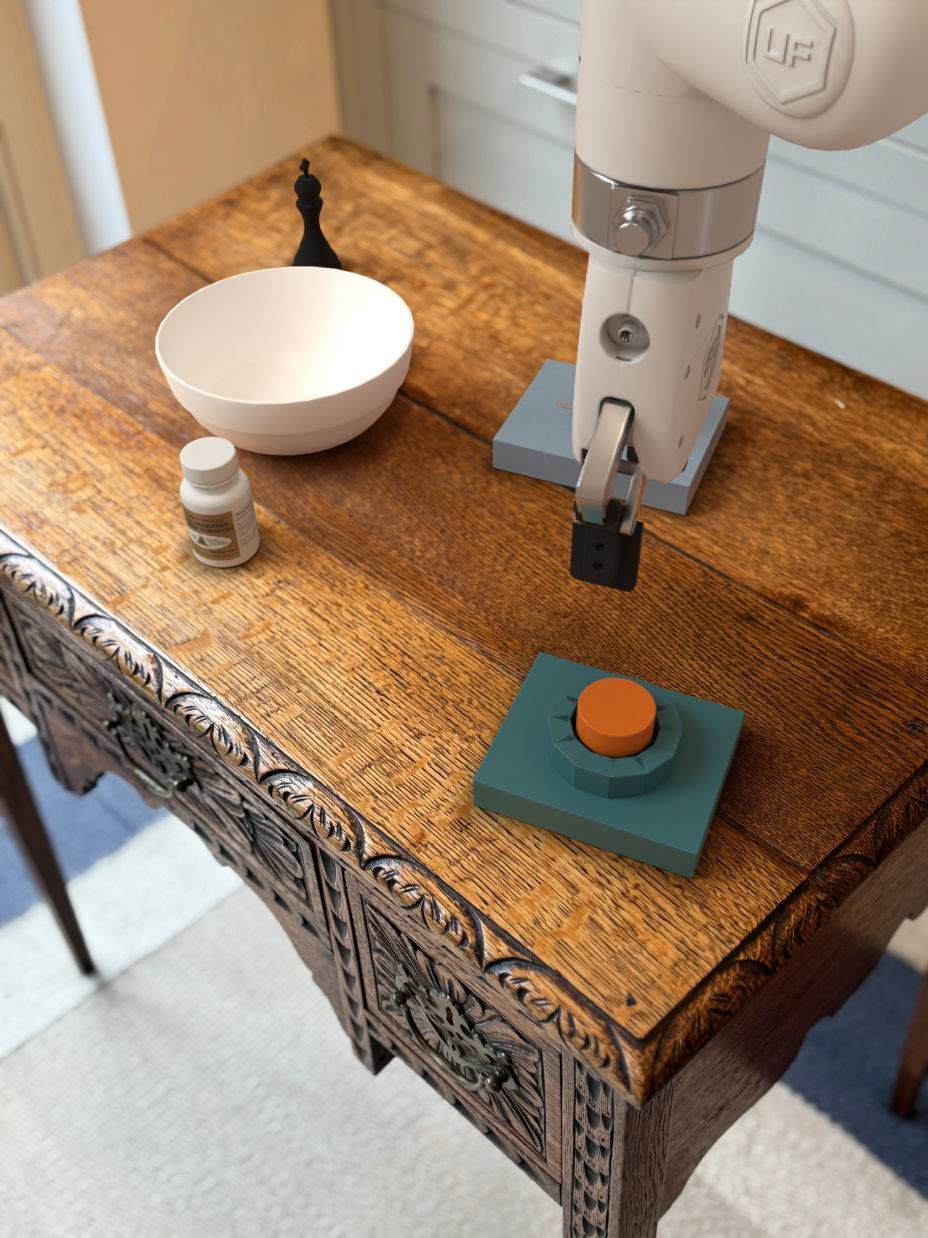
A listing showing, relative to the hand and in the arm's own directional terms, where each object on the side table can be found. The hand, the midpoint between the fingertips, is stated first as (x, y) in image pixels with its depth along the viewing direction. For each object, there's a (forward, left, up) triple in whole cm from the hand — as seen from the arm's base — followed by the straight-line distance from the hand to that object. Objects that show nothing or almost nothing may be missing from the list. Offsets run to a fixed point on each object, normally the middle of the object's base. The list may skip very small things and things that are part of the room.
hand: (630, 520), depth 60 cm
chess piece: (+39, -37, -13) cm, 55 cm away
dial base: (+7, -22, -13) cm, 26 cm away
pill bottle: (+27, -2, -13) cm, 30 cm away
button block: (-2, +6, -13) cm, 14 cm away
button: (-2, +6, -9) cm, 11 cm away
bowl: (+30, -17, -13) cm, 37 cm away
